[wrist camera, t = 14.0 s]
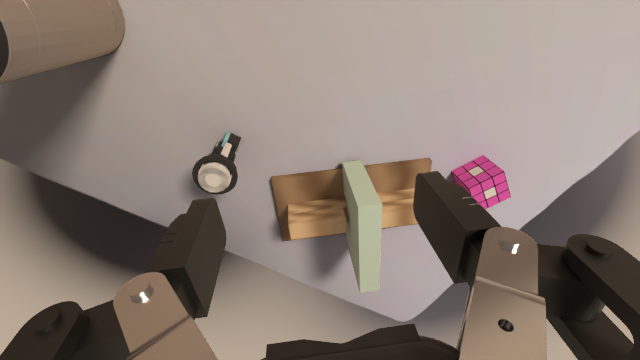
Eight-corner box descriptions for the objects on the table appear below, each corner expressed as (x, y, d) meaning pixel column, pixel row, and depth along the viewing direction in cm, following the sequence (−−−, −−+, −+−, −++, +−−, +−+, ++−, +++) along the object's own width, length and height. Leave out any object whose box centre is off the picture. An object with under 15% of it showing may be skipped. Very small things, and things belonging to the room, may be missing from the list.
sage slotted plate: (342, 162, 46) (358, 207, 36) (361, 160, 47) (382, 204, 36) (346, 238, 55) (359, 293, 44) (362, 236, 55) (379, 290, 44)
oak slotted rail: (283, 237, 54) (282, 264, 49) (271, 176, 48) (269, 199, 42) (421, 219, 55) (436, 243, 50) (429, 157, 49) (447, 177, 43)
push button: (234, 174, 47) (222, 212, 38) (200, 160, 45) (180, 197, 36) (251, 139, 44) (242, 171, 36) (216, 123, 42) (198, 153, 34)
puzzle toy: (459, 194, 53) (477, 213, 48) (450, 171, 51) (468, 188, 46) (490, 179, 52) (511, 197, 47) (482, 154, 50) (504, 171, 45)
